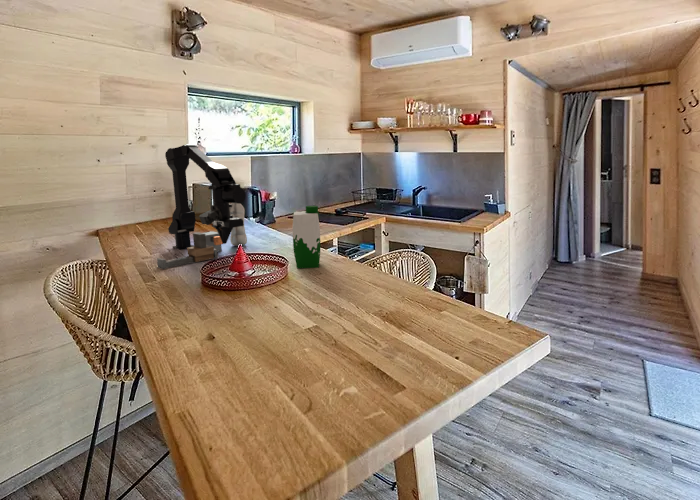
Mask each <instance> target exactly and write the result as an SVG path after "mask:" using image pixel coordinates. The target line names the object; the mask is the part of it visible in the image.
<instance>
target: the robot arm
mask: <svg viewBox="0 0 700 500" xmlns="http://www.w3.org/2000/svg"><path fill="white" fill-rule="evenodd" d="M165 159H166V164H167V167H168V168H169V169H170V170H171V171H172V172H171V173H172V181H173V183H172V184H173V191H174V201H175V209H174V211H173V213H172V215H171V216H172V218H171V219H172V220H171V223H170V225H169V227H168V228H167V230H168V233H169V235H170V234H171V235H174V241H175V245H174V246H171V247H172V248H173V249H177V250H185V249H187V248H189V247H194V244H192V243H191V242H192V241H191V236H190V235H191V234H190V233H191V232H193V233H194V232H195V227H196V222H197V220H196V213H195V211H192V210H191V208H190V206H189V205H190V204H189V193H188V182H187V170H188V168H189V165H190V160H191V161H192V162H194V163H195V164H196V166H197V167H199V168H200V169H201V171H203V172H204V174H205V175H204V176H205V177H206V179H207V180H208V181H209V183H210V185H209V186H208V190H211V191H212V202H213V204H211V205H210V209H209V210H207V211H205V212H203V213H201V214H200V215H198V216H199V220H200V222H201V225H206V226H208V225H209V226H211V227H212V228H213V229H215V230H216V232H218V233H219V236H220V238H221V240H222V243H223V244H224V245H226V244H227V243H228V241H229V237H230V236H231V231H232V229H233V227H240V226H244V227H245V220H244V221H243V220H242V219H241V218H233V215H230V207H232V204H231V203H238V204H240V203H241V204H243V203H244V202H245V199H246V196H247V195H246V193H245V190H244V189H243V188H242V187H241V184H240V183H238V184H237V182H236V180H235V179H234V177H233V175H232V173H231V171H230V169H229V168H228V167H226V166H225V165H223V164H220V163H217V162H214V160H212V158H210V157H209V156H208V155H207V154H206V153H204V152H203V151H202V150H201V149H199V147H198V146H197V145H196V144H195V143H193V144H192V143H191V144H190V143H187V144H185V143H184V144H183V145H181V146H177V147H170V148H168V149H167V150H166V151H165ZM223 244H222V245H223Z"/></svg>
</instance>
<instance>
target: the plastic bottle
mask: <svg viewBox="0 0 700 500" xmlns="http://www.w3.org/2000/svg"><path fill="white" fill-rule="evenodd" d="M230 204H232V207H230V215H233V218H241V219H242V220H243V221H244V222H245V213H246V211H245V207H244V205H242V203H240V204H238V203H230ZM247 236H248V235H247V234H246V227H245V225H244V226H240V227H233V229H232V231H231V233H230V244H231V245H232V246H235V247H239V246H238V245H239V244H242V246H245V245H246V244H247V242H248V237H247Z"/></svg>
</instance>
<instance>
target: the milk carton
mask: <svg viewBox="0 0 700 500" xmlns="http://www.w3.org/2000/svg"><path fill="white" fill-rule="evenodd" d="M319 216H320V213H319V206H318V205H307V206H305V210H303V211H302V210H301V211H294V212H293V218H292V247H293V254H294V261H295V264H296V268H297V269H317V268H318V269H319V268H320V260H321V226H320V221H319V218H320V217H319Z"/></svg>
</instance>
